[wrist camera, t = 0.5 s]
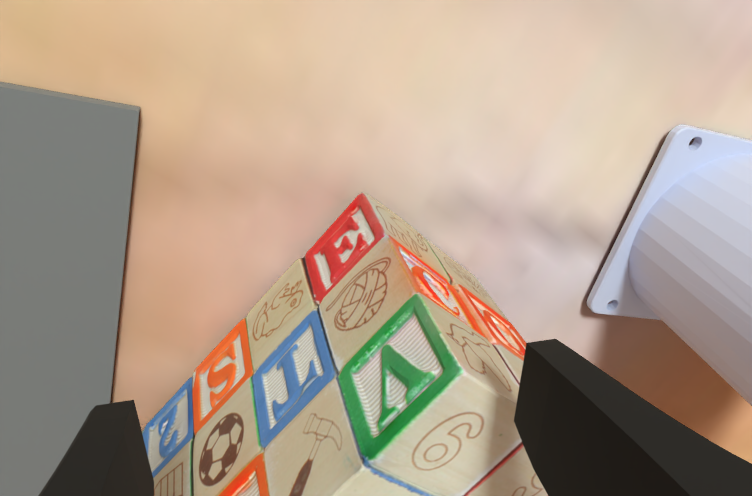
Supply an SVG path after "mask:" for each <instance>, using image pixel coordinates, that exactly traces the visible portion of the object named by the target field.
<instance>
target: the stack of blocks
mask: <svg viewBox="0 0 752 496" xmlns="http://www.w3.org/2000/svg"><path fill="white" fill-rule="evenodd" d="M525 349H526V342H525V341H524V340H523V338H522V337H521V336H520V334H519V333H518V332H517V330H516V329H515V328H514V327H513V325H512V324H511V323H510V322H509V321H508V319H507V318H506V317H505V315H504V314H503V313H502V311H501V310H500V309H499V308H498V306H497V305H496V304H495V302H494V301H493V300H492V298H491V297H490V296H489V294H488V293H487V292H486V290H485V289H484V288H483V286H482V285H481V284H480V283H479V281H478V280H477V279H476V278H475V276H473V275H472V274H471V273H469V272H468V271H467V270H465V269H464V268H463V267H461V266H460V265H459V264H458V263H456V262H455V261H454V260H452V259H451V258H450V257H449V256H447V255H446V254H445V253H443V252H442V251H441V250H440V249H438V248H437V247H436V246H434V245H433V244H432V243H431V242H429V241H428V240H426V239H425V238H424V237H423V236H422V235H421V234H420V233H418V232H417V231H416V230H415V229H413V228H412V227H411V226H410V225H408V224H407V223H406V222H405V221H403V220H402V219H401V218H400V217H398V216H397V215H396V214H394V213H393V212H392V211H390V210H389V209H388V208H386V207H385V206H383V205H382V204H381V203H379V202H378V201H376V200H375V199H373V198H372V197H370V196H369V195H367V194H366V193H363V192H361V193H360V194H359V195H358V196H357V197H356V198H355V199H354V200H353V202H352V203H351V204H350V205H349V206H348V207H347V208H346V210H345V211H344V212H343V213H342V214H341V215H340V216H339V217H338V219H337V220H336V221H335V222H334V223H333V224H332V225H331V226H330V227H329V229H328V230H327V231H326V232H325V233H324V234H323V235H322V236H321V237H320V238H319V239H318V241H317V242H316V243H315V245H314V246H313V247H312V248H311V249H310V250H309V251H307V253H306V255H305V257H304V258H299V259H298V260H296V261H295V262H294V263H293V264H292V266H291V267H290V268H289V269H288V270H287V271H286V272H285V273H284V274H283V275H282V276H281V277H280V278H279V280H278V281H277V282H276V283H275V284H274V285H273V286H272V287H271V288H270V289H269V291H268V292H267V293H266V294H265V295H264V296H263V297H262V298H261V299H260V300H259V301H258V302H257V304H256V305H255V306H254V307H253V308H252V309H251V311H250V312H249V313H248V315H247V317H246V318H244V319H243V320H241V321H240V322H239V323H238V324H237V325H236V326H235V327H234V328H233V329H232V330H231V332H230V333H229V334H228V335H227V336H226V337H225V338H224V339H223V340H222V341H221V342H220V343H219V344H218V345H217V346H216V348H215V349H214V350H213V351H212V352H211V353H210V354H209V355H208V356H207V357H206V358H205V360H204V361H203V362H202V363H201V364H200V365H199V366H198V367H197V368H196V369H195V370H194V373H193V376H192V377H191V378H189V379H188V381H187V382H186V383H185V384H184V385H183V386H182V387H181V388H180V389H179V390H178V392H177V393H176V394H175V395H174V396H173V397H172V398H171V399H170V400H169V401H168V402H167V403H166V405H165V406H164V407H163V408H162V409H161V410H160V411H159V412H158V413H157V414H156V415H155V417H154V418H153V419H152V420H151V421H150V422H149V423H148V424H147V425H146V427H145V429H144V430H143V431H142V435H143V439H144V443H145V447H146V451H147V455H148V459H149V463H150V467H151V471H152V475H153V479H154V496H548V494H547V493H546V491H545V489H544V487H543V485H542V484H541V482H540V480H539V478H538V476H537V474H536V473H535V471H534V469H533V467H532V464H531V462H530V460H529V457H528V455H527V453H526V450H525V448H524V446H523V443H522V440H521V438H520V435H519V433H518V430H517V428H516V425H515V423H514V416H515V410H516V404H517V398H518V392H519V386H520V379H521V373H522V367H523V361H524V355H525Z"/></svg>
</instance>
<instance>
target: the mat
mask: <svg viewBox="0 0 752 496" xmlns="http://www.w3.org/2000/svg"><path fill="white" fill-rule="evenodd" d="M139 114H140V107H138V106H132V105H127V104H121V103H115V102H110V101H104V100H99V99H93V98H88V97H82V96H76V95H71V94H65V93H60V92H54V91H49V90H43V89H38V88H32V87H26V86H21V85H15V84H10V83H4V82H0V496H39V494H40V493H41V491H42V490H43V488H44V487H45V485H46V483H47V482H48V480H49V479H50V477H51V476H52V474H53V473H54V471H55V470H56V468H57V466H58V465H59V463H60V462H61V460H62V458H63V457H64V455H65V454H66V452H67V450H68V449H69V447H70V445H71V444H72V442H73V440H74V439H75V437H76V435H77V433H78V432H79V430H80V428H81V427H82V425H83V423H84V421H85V420H86V418H87V416H88V414H89V413H90V411H91V410H92V409H93V408H94V407H95V406H96V405H102V404H109V403H110V402H111V392H112V382H113V372H114V362H115V352H116V342H117V332H118V323H119V313H120V303H121V293H122V283H123V273H124V263H125V253H126V243H127V233H128V223H129V213H130V203H131V193H132V183H133V174H134V164H135V154H136V144H137V134H138V124H139Z"/></svg>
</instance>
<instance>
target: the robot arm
mask: <svg viewBox="0 0 752 496" xmlns="http://www.w3.org/2000/svg"><path fill="white" fill-rule="evenodd" d="M693 138H695V139H694V142H693V143H692V144H691V145H689V143H690V141H691V140H692V139H693ZM610 301H612V302H611V303H609V302H610ZM608 303H609V304H608ZM607 304H608V305H607ZM587 306H588V307H589V308H590V309H591V311H592V312H593V313H596V314H606V315H616V316H626V317H636V318H645V319H655V320H662V321H663V322H664V323H665V324H666V325H667V326H668V327H670V328H671V329H672V330H673V331H674V332H675V333H676V334H677V335H678V336H679V337H680V338H681V339H682V340H683V341H684V342H685V343H686V344H687V345H688V346H689V347H690V348H692V349H693V350H694V351H695V352H696V353H697V354H698V355H699V356H700V357H701V358H702V359H703V360H704V361H705V362H706V363H707V364H708V365H709V366H710V367H711V368H713V369H714V370H715V371H716V372H717V373H718V374H719V375H720V376H721V377H722V378H723V379H724V380H725V381H726V382H727V383H728V384H729V385H730V386H731V387H732V388H734V389H735V390H736V391H737V392H738V393H739V394H740V395H741V396H742V397H743V398H744V399H745V400H746V401H747V402H748V403H749V404H750V405H751V406H752V140H748V139H744V138H740V137H736V136H731V135H727V134H723V133H719V132H714V131H710V130H706V129H701V128H697V127H693V126H689V125H678V126H676V127H674V128H673V129H672V130H671V131H670V132H669V134H668V135H667V137H666V139H665V141H664V143H663V145H662V147H661V149H660V151H659V154H658V156H657V158H656V160H655V162H654V164H653V166H652V168H651V170H650V172H649V174H648V176H647V178H646V180H645V182H644V184H643V186H642V188H641V190H640V192H639V194H638V196H637V198H636V201H635V203H634V205H633V207H632V209H631V211H630V213H629V215H628V217H627V219H626V221H625V223H624V225H623V227H622V229H621V231H620V233H619V235H618V237H617V239H616V241H615V243H614V245H613V248H612V250H611V252H610V254H609V256H608V258H607V260H606V262H605V264H604V266H603V268H602V270H601V272H600V274H599V276H598V278H597V280H596V282H595V284H594V286H593V288H592V290H591V292H590V295H589V297H588V299H587ZM514 423H515V425H516V428H517V430H518V433H519V435H520V438H521V440H522V443H523V446H524V448H525V450H526V453H527V455H528V457H529V460H530V462H531V464H532V467H533V469H534V471H535V473H536V474H537V476H538V478H539V480H540V482H541V484H542V485H543V487H544V489H545V491H546V493H547V494H548V496H752V464H751V463H749V462H747V461H745V460H743V459H741V458H740V457H738V456H736V455H734V454H732V453H730V452H729V451H727V450H725V449H723V448H721V447H720V446H718V445H716V444H714V443H713V442H711V441H709V440H708V439H706V438H704V437H703V436H701V435H699V434H698V433H696V432H694V431H693V430H691V429H689V428H688V427H686V426H685V425H683V424H681V423H680V422H678V421H676V420H675V419H673V418H672V417H670V416H669V415H667V414H665V413H664V412H662V411H661V410H659V409H658V408H656V407H655V406H653V405H652V404H650V403H649V402H647V401H646V400H644V399H643V398H641V397H640V396H638V395H637V394H635V393H634V392H632V391H631V390H629V389H628V388H626V387H625V386H623V385H622V384H621V383H619V382H618V381H616V380H615V379H613V378H612V377H610V376H609V375H608V374H606V373H605V372H603V371H602V370H600V369H599V368H598V367H596V366H595V365H593V364H592V363H590V362H589V361H588V360H586V359H585V358H583V357H582V356H580V355H579V354H578V353H576V352H575V351H573V350H572V349H570V348H569V347H567V346H566V345H564V344H563V343H561V342H560V341H558V340H557V339H551V340H544V341H538V342H531V343H526V349H525V355H524V361H523V367H522V373H521V379H520V386H519V392H518V398H517V404H516V410H515V416H514ZM39 496H154V479H153V475H152V471H151V467H150V463H149V459H148V455H147V451H146V447H145V443H144V439H143V435H142V431H141V427H140V423H139V419H138V415H137V411H136V407H135V403H134V400H130V401H123V402H116V403H109V404H102V405H96V406H95V407H94V408H93V409H92V410H91V411H90V413H89V414H88V416H87V418H86V420H85V421H84V423H83V425H82V427H81V428H80V430H79V432H78V433H77V435H76V437H75V439H74V440H73V442H72V444H71V445H70V447H69V449H68V450H67V452H66V454H65V455H64V457H63V458H62V460H61V462H60V463H59V465H58V466H57V468H56V470H55V471H54V473H53V474H52V476H51V477H50V479H49V480H48V482H47V483H46V485H45V487H44V488H43V490H42V491H41V493H40V494H39Z"/></svg>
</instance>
